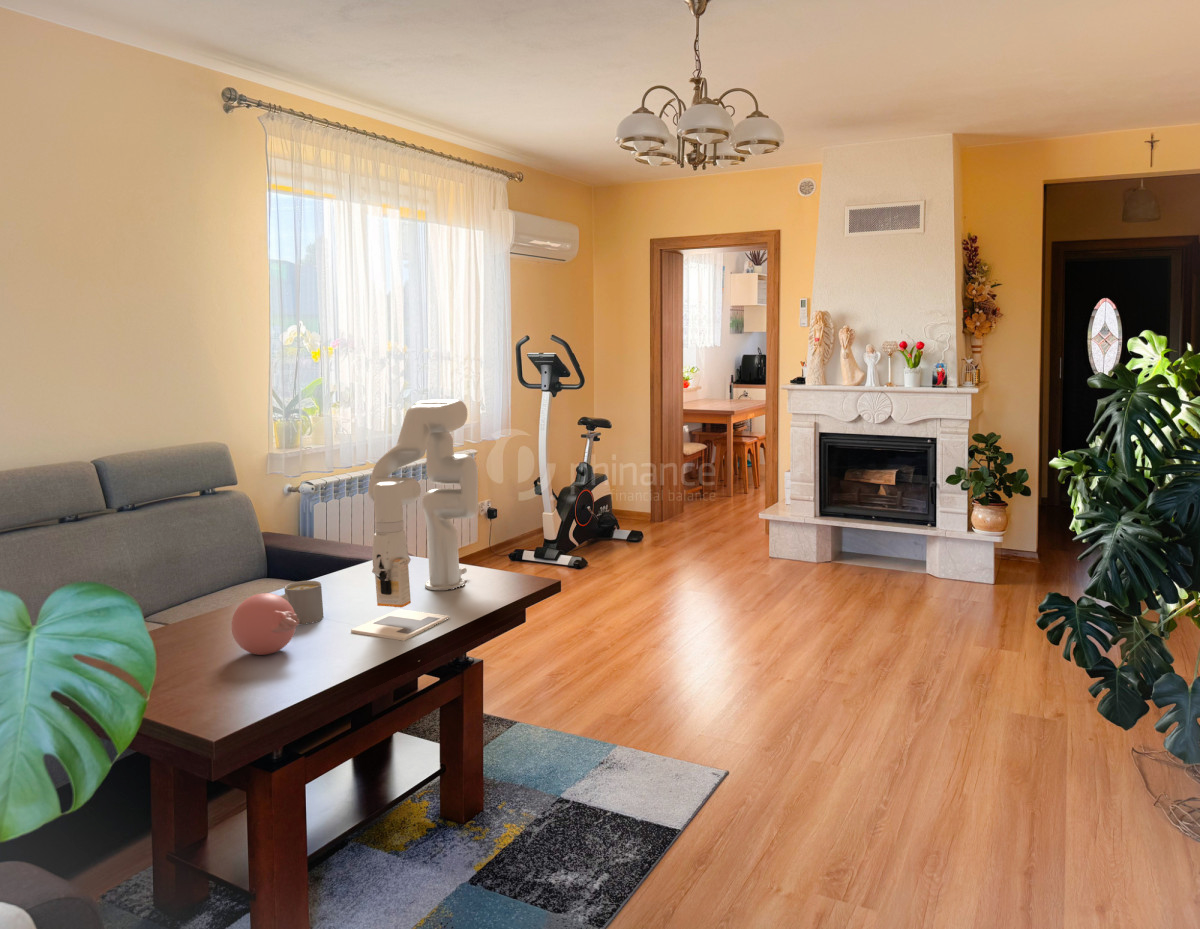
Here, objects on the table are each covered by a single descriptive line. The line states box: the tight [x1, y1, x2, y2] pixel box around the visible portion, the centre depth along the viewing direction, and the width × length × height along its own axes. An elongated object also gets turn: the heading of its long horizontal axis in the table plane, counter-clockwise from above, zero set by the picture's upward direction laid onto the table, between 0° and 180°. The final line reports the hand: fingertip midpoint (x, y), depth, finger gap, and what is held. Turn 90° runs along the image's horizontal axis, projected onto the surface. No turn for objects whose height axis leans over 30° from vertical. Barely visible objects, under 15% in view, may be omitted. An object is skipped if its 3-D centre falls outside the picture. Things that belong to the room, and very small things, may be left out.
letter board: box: [350, 608, 450, 642], centre depth 240 cm, size 20×18×1 cm
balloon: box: [230, 592, 299, 656], centre depth 218 cm, size 15×20×15 cm
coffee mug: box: [279, 580, 324, 625], centre depth 247 cm, size 13×10×10 cm
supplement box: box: [374, 558, 412, 608], centre depth 239 cm, size 8×5×13 cm, turn 71°
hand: (393, 590), depth 239 cm, fingers closed on supplement box, 5 cm apart
